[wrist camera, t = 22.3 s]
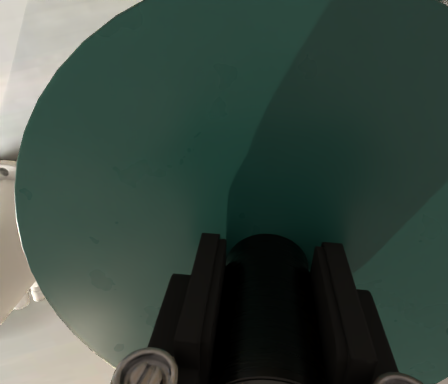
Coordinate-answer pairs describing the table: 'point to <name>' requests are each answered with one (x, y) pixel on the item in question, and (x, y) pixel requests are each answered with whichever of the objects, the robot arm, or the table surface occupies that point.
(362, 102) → the lid
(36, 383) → the table surface
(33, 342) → the table surface
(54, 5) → the table surface
